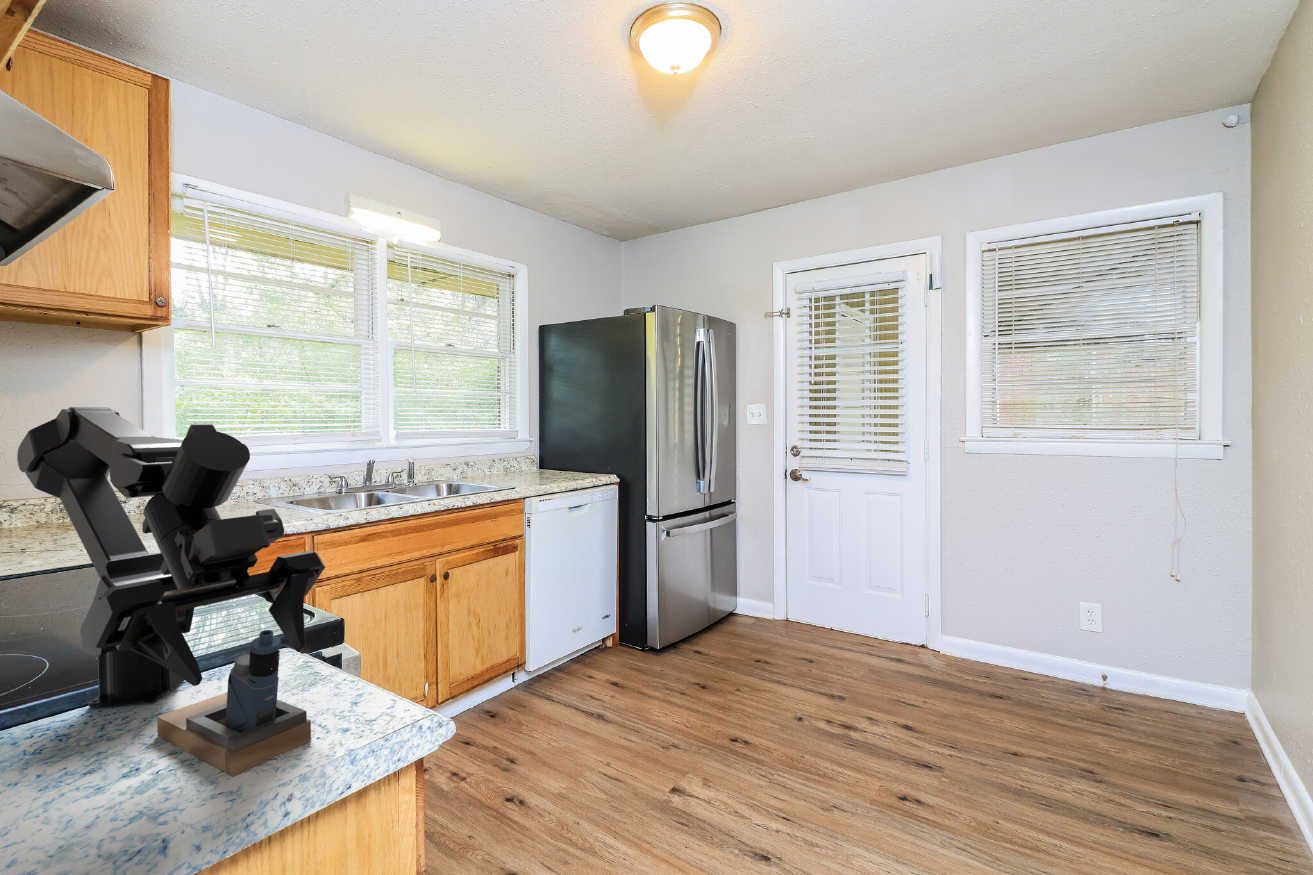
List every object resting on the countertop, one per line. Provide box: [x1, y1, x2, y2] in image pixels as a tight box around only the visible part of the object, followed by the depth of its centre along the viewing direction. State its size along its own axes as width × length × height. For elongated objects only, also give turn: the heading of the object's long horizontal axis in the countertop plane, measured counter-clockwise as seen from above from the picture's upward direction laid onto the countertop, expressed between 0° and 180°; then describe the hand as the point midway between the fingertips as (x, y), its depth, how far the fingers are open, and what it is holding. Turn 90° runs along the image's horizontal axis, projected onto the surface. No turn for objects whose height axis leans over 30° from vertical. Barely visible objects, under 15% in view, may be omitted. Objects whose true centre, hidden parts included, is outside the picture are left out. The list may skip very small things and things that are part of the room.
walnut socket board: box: [156, 691, 312, 777], centre depth 61 cm, size 14×7×3 cm, turn 60°
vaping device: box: [225, 629, 282, 733], centre depth 58 cm, size 3×5×12 cm, turn 62°
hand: (253, 665), depth 59 cm, fingers open, 9 cm apart
